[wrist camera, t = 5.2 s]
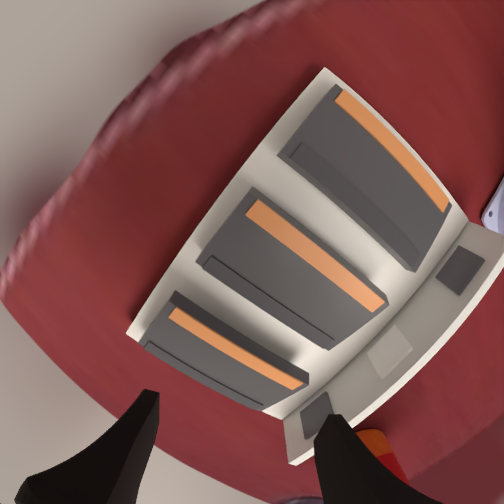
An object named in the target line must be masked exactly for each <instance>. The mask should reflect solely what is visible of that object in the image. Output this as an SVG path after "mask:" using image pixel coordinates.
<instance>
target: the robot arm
mask: <svg viewBox="0 0 504 504" xmlns="http://www.w3.org/2000/svg"><path fill="white" fill-rule="evenodd" d="M489 212H490V214H489ZM481 220H482V223H483V224H484V226H485V228H487V229H490V230H492V231H494V232H497V233H499V234H501V235H504V178H503V179H502V181H501V183H500V185H499V187H498V189H497V190H496V192H495V194H494V196H493V197H492V199H491V201H490V202H489V204H488V206H487V207H486V209H485V211H484V212H483V214H482V217H481ZM158 425H159V392H155V391H151V390H147V389H144V390H143V391H142V392H141V393H140V395H139V396H138V398H137V399H136V400H135V401H134V403H133V404H132V405H131V406H130V407H129V409H128V410H127V411H126V412H125V413H124V414H123V415H122V416H121V417H120V419H119V420H118V421H117V422H116V423H115V424H114V425H113V426H112V427H111V428H109V429H108V430H107V431H106V432H105V433H104V434H103V435H102V436H101V437H99V438H98V439H97V440H96V441H95V442H93V443H92V444H91V445H90V446H88V447H87V448H85V449H84V450H83V451H81V452H79V453H78V454H76V455H75V456H73V457H71V458H70V459H68V460H66V461H64V462H63V463H60V464H58V465H56V466H54V467H52V468H50V469H48V470H46V471H43V472H41V473H38V474H35V475H32V476H29V477H27V478H26V480H25V481H24V482H23V484H22V485H21V487H20V489H19V491H18V493H17V495H16V497H15V499H14V500H15V503H16V504H136V499H137V495H138V490H139V486H140V483H141V479H142V476H143V474H144V471H145V468H146V465H147V462H148V460H149V457H150V453H151V451H152V448H153V445H154V443H155V439H156V434H157V430H158ZM313 443H314V457H315V464H316V468H317V473H318V478H319V482H320V487H321V491H322V496H323V501H324V504H443V503H441V502H438V501H436V500H434V499H431V498H429V497H427V496H426V495H424V494H422V493H420V492H418V491H417V490H415V489H413V488H412V487H410V486H409V485H407V484H406V483H405V482H403V481H402V480H401V479H399V478H398V477H397V476H396V475H394V474H393V473H392V472H391V471H390V470H389V469H387V468H386V467H385V466H384V465H383V464H382V463H381V462H380V461H379V460H378V459H377V458H376V457H375V456H374V454H373V453H372V452H371V451H370V450H369V449H368V448H367V446H366V445H365V444H364V443H363V442H362V440H361V439H360V438H359V437H358V435H357V434H356V433H355V431H354V430H353V429H352V428H351V426H350V425H349V424H348V422H347V421H346V420H345V418H344V417H343V416H342V415H341V414H329V415H328V416H327V418H326V420H325V422H324V423H323V425H322V427H321V429H320V430H319V432H318V434H317V435H316V437H315V439H314V440H313ZM0 504H1V503H0Z"/></svg>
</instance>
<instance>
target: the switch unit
mask: <svg viewBox="0 0 504 504" xmlns="http://www.w3.org/2000/svg"><path fill="white" fill-rule="evenodd" d="M335 84H337V85H338V86H340V87H341V88H342V89H343V90H344V89H345V90H346V91H347V92H349V93H350V94H351V95H352V96H353V97H354V98H355V99H357V100H358V101H359V102H360V103H361V104H362V105H363V106H364V107H365V108H367V109H368V110H369V111H370V112H371V113H372V114H373V115H374V116H375V117H376V118H377V119H378V120H379V121H380V122H381V123H382V124H383V125H384V126H385V127H386V128H387V129H388V130H389V131H390V132H391V133H392V134H393V135H394V136H395V137H396V138H397V139H398V140H399V141H400V142H401V143H402V144H403V145H404V146H405V147H406V148H407V149H408V151H409V152H410V153H411V154H412V155H413V156H414V157H415V158H416V159H417V161H418V162H419V163H420V164H421V165H422V166H423V167H424V169H425V170H426V171H427V172H428V173H429V175H430V176H431V177H432V178H433V179H434V181H435V182H436V183H437V184H438V186H439V187H440V188H441V189H442V191H443V192H444V193H445V195H446V196H447V197H448V198H449V201H450V203H451V204H452V207H451V209H450V211H449V213H448V215H447V217H446V219H445V221H444V223H443V225H442V227H441V229H440V231H439V233H438V235H437V237H436V238H435V240H434V242H433V244H432V246H431V247H430V249H429V251H428V253H427V254H426V256H425V258H424V260H423V261H422V263H421V265H420V266H419V268H418V270H417V271H416V273H414V272H411V271H408V270H405V269H404V268H403V267H402V266H401V265H400V264H399V263H398V262H397V261H396V260H395V259H394V258H393V257H392V256H391V255H390V254H389V253H388V252H387V251H386V250H385V249H384V248H383V247H382V246H381V245H380V244H379V243H378V242H377V241H376V240H375V239H373V238H372V237H371V236H370V235H369V234H368V233H367V232H366V231H365V230H364V229H363V228H362V227H361V226H359V225H358V224H357V223H356V222H355V221H354V220H353V219H352V218H351V217H349V216H348V215H347V214H346V213H345V212H344V211H343V210H342V209H340V208H339V207H338V206H337V205H336V204H335V203H334V202H332V201H331V200H330V199H329V198H328V197H327V196H325V195H324V194H323V193H322V192H321V191H319V190H318V189H317V188H316V187H315V186H313V185H312V184H311V183H310V182H309V181H307V180H306V179H305V178H304V177H303V176H301V175H300V174H299V173H298V172H296V171H295V170H294V169H293V168H291V167H290V166H289V165H288V164H286V163H285V162H284V161H282V160H281V159H280V158H279V157H277V156H276V155H277V154H278V153H279V152H280V150H281V149H282V148H283V146H284V145H285V144H286V143H287V141H288V140H289V139H290V138H291V136H292V135H293V134H294V132H295V131H296V130H297V129H298V127H299V126H300V125H301V124H302V122H303V121H304V120H305V119H306V117H307V116H308V115H309V114H310V112H311V111H312V110H313V109H314V107H315V106H316V105H317V104H318V103H319V101H320V100H321V99H322V98H323V96H324V95H325V94H326V93H327V92H328V90H329V89H330V88H332V87H333V86H334V85H335ZM252 186H253V187H255V188H256V189H257V190H259V191H260V192H261V193H263V194H264V195H265V196H266V197H268V198H269V199H270V200H272V201H273V202H274V203H276V204H277V205H278V206H279V207H281V208H282V209H283V210H285V211H286V212H287V213H288V214H290V215H291V216H292V217H293V218H295V219H296V220H297V221H299V222H300V223H301V224H302V225H304V226H305V227H306V228H307V229H309V230H310V231H311V232H312V233H314V234H315V235H316V236H317V237H318V238H320V239H321V240H322V241H323V242H325V243H326V244H327V245H328V246H329V247H331V248H332V249H333V250H334V251H336V252H337V253H338V254H339V255H340V256H342V257H343V258H344V259H345V260H346V261H347V262H349V263H350V264H351V265H352V266H353V267H355V268H356V269H357V270H358V271H359V272H360V273H362V274H363V275H364V276H365V277H366V278H367V279H369V280H370V281H371V282H372V283H373V284H374V285H376V286H377V287H378V288H379V289H380V290H381V291H382V292H384V293H385V294H386V296H387V299H388V302H389V306H388V307H387V308H386V309H384V310H383V311H382V312H381V313H379V314H378V315H377V316H376V317H374V318H373V319H372V320H370V321H369V322H368V323H366V324H365V325H364V326H363V327H361V328H360V329H359V330H357V331H356V332H354V333H353V334H352V335H350V336H349V337H348V338H346V339H345V340H344V341H342V342H341V343H339V344H338V345H336V346H335V347H334V348H332V349H331V350H329V351H328V350H326V349H322V348H321V347H319V346H318V345H316V344H314V343H313V342H311V341H310V340H308V339H306V338H305V337H303V336H302V335H300V334H299V333H297V332H296V331H294V330H292V329H291V328H289V327H288V326H286V325H285V324H283V323H282V322H280V321H279V320H277V319H275V318H274V317H272V316H271V315H269V314H268V313H266V312H265V311H263V310H262V309H260V308H259V307H257V306H256V305H254V304H253V303H251V302H250V301H248V300H247V299H245V298H244V297H242V296H241V295H239V294H238V293H237V292H235V291H234V290H232V289H231V288H229V287H228V286H226V285H225V284H223V283H222V282H220V281H219V280H218V279H216V278H215V277H213V276H212V275H210V274H209V273H207V272H206V271H205V270H203V269H202V267H201V266H200V265H198V264H197V263H196V262H195V261H196V259H197V257H198V256H199V254H200V252H201V251H202V250H203V249H204V247H205V246H206V245H207V243H208V242H209V241H210V239H211V238H212V237H213V236H214V234H215V233H216V232H217V230H218V229H219V228H220V226H221V225H222V224H223V223H224V221H225V220H226V219H227V218H228V216H229V215H230V214H231V212H232V211H233V210H234V209H235V207H236V206H237V205H238V204H239V202H240V201H241V200H242V199H243V197H244V196H245V195H246V194H247V192H248V191H249V190H250V189H251V187H252ZM503 267H504V235H501V234H499V233H497V232H494V231H492V230H490V229H487V228H485V227H482V226H480V225H477V224H475V223H472V222H469V221H468V218H467V217H466V215H465V214H464V212H463V211H462V210H461V208H460V207H459V205H458V204H457V203H456V201H455V200H454V199H453V197H452V196H451V194H450V193H449V192H448V191H447V189H446V188H445V187H444V185H443V184H442V183H441V182H440V180H439V179H438V178H437V177H436V175H435V174H434V173H433V172H432V170H431V169H430V168H429V167H428V166H427V164H426V163H425V162H424V161H423V160H422V159H421V158H420V156H419V155H418V154H417V153H416V152H415V151H414V150H413V148H412V147H411V146H410V145H409V144H408V143H407V142H406V141H405V140H404V139H403V138H402V137H401V136H400V134H399V133H398V132H397V131H396V130H395V129H394V128H393V127H392V126H391V125H390V124H389V123H388V122H387V121H386V120H385V119H384V118H383V117H382V116H381V115H380V114H379V113H378V112H376V111H375V110H374V109H373V108H372V107H371V106H370V105H369V104H368V103H367V102H366V101H365V100H364V99H362V98H361V97H360V96H359V95H358V94H357V93H356V92H355V91H353V90H352V89H351V88H350V87H349V86H348V85H346V84H345V83H344V82H343V81H342V80H340V79H339V78H338V77H337V76H335V75H334V74H333V73H332V72H331V71H329V70H328V69H327V68H325V67H324V68H323V69H322V71H321V72H320V73H319V74H318V75H317V76H316V77H315V78H314V80H313V81H312V82H311V83H310V84H309V85H308V86H307V88H306V89H305V90H304V91H303V92H302V93H301V95H300V96H299V97H298V98H297V99H296V100H295V102H294V103H293V104H292V105H291V106H290V108H289V109H288V110H287V111H286V112H285V114H284V115H283V116H282V117H281V118H280V120H279V121H278V122H277V123H276V124H275V126H274V127H273V128H272V129H271V131H270V132H269V133H268V134H267V135H266V137H265V138H264V139H263V140H262V142H261V143H260V144H259V145H258V147H257V148H256V149H255V151H254V152H253V153H252V154H251V156H250V157H249V158H248V159H247V161H246V162H245V163H244V165H243V166H242V167H241V168H240V170H239V171H238V172H237V174H236V175H235V176H234V178H233V179H232V180H231V181H230V183H229V184H228V185H227V187H226V188H225V189H224V191H223V192H222V193H221V195H220V196H219V197H218V199H217V200H216V202H215V203H214V204H213V206H212V207H211V208H210V210H209V211H208V212H207V214H206V215H205V217H204V218H203V219H202V221H201V222H200V223H199V225H198V226H197V228H196V229H195V230H194V232H193V233H192V235H191V236H190V237H189V239H188V240H187V242H186V243H185V245H184V246H183V247H182V249H181V250H180V252H179V253H178V255H177V256H176V258H175V259H174V260H173V262H172V263H171V265H170V266H169V268H168V269H167V271H166V272H165V274H164V275H163V277H162V278H161V280H160V281H159V283H158V284H157V286H156V287H155V289H154V290H153V292H152V293H151V295H150V296H149V298H148V299H147V301H146V302H145V304H144V305H143V307H142V309H141V310H140V312H139V313H138V315H137V316H136V318H135V320H134V321H133V323H132V324H131V326H130V327H129V329H128V331H127V332H126V334H127V335H129V336H130V337H132V338H133V339H134V340H136V341H137V342H139V340H140V339H141V337H142V335H143V333H144V332H145V330H146V329H147V328H148V326H149V325H150V324H151V322H152V321H153V319H154V318H155V317H156V315H157V314H158V313H159V311H160V310H161V308H162V307H163V306H164V304H165V303H166V302H167V300H168V299H169V298H170V296H171V295H172V294H173V292H174V291H175V290H176V291H178V292H179V293H180V294H182V295H183V296H185V297H186V298H188V299H189V300H191V301H192V302H194V303H195V304H197V305H198V306H200V307H201V308H203V309H204V310H206V311H207V312H209V313H210V314H212V315H213V316H215V317H216V318H218V319H220V320H221V321H223V322H224V323H226V324H227V325H229V326H231V327H232V328H234V329H235V330H237V331H238V332H240V333H242V334H243V335H245V336H247V337H248V338H250V339H251V340H253V341H255V342H256V343H258V344H260V345H261V346H263V347H265V348H266V349H268V350H270V351H271V352H273V353H275V354H276V355H278V356H280V357H282V358H283V359H285V360H287V361H289V362H290V363H292V364H294V365H296V366H297V367H299V368H301V369H303V370H304V371H306V372H308V373H309V386H307V387H305V388H303V389H302V390H300V391H298V392H296V393H295V394H293V395H291V396H289V397H287V398H286V399H284V400H282V401H280V402H278V403H276V404H274V405H272V406H270V407H268V408H267V409H265V410H263V412H265V413H267V414H269V415H271V416H274V417H276V418H278V419H281V420H282V419H283V423H284V431H285V439H286V447H287V456H288V463H289V464H292V465H296V466H297V465H298V464H300V463H302V462H303V461H305V460H307V459H308V458H310V457H311V456H313V455H314V443H313V440H314V439H315V437H316V435H317V434H318V432H319V430H320V429H321V427H322V425H323V423H324V422H325V420H326V418H327V416H328V415H329V414H341V415H342V416H343V417H344V418H345V420H346V421H347V422H348V424H349V425H350V426H351V428H353V427H355V426H356V425H357V424H359V423H360V422H361V421H362V420H364V419H365V418H366V417H367V416H369V415H370V414H371V413H372V412H374V411H375V410H376V409H377V408H378V407H380V406H381V405H382V404H383V403H384V402H386V401H387V400H388V399H389V398H390V397H391V396H392V395H394V394H395V393H396V392H397V391H398V390H399V389H400V388H401V387H402V386H404V385H405V384H406V383H407V382H408V381H409V380H410V379H411V378H412V377H413V376H414V375H415V374H416V373H417V372H418V371H419V370H420V369H421V368H422V367H423V366H424V365H425V364H426V363H427V362H428V361H429V360H430V359H431V358H432V357H433V356H434V355H435V354H436V353H437V352H438V351H439V349H440V348H441V347H442V346H443V345H444V344H445V343H446V342H447V341H448V339H449V338H450V337H451V336H452V335H453V334H454V333H455V331H456V330H457V329H458V328H459V327H460V325H461V324H462V323H463V322H464V321H465V319H466V318H467V317H468V316H469V314H470V313H471V312H472V311H473V309H474V308H475V307H476V305H477V304H478V303H479V301H480V300H481V299H482V297H483V296H484V295H485V293H486V292H487V290H488V289H489V288H490V286H491V285H492V283H493V282H494V280H495V279H496V278H497V276H498V275H499V273H500V272H501V270H502V268H503Z"/></svg>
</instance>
